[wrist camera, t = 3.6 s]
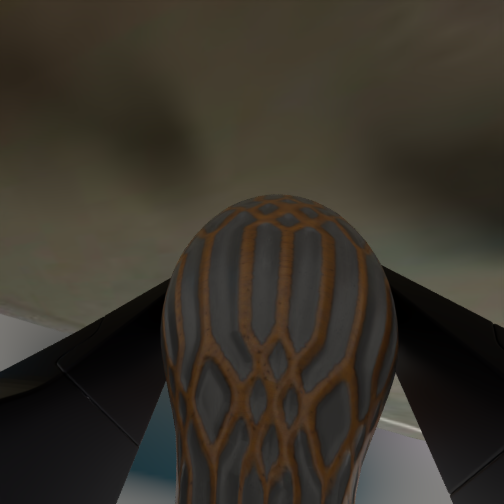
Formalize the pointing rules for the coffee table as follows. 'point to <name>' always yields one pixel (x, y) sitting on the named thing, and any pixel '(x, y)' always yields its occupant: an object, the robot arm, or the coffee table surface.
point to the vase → (276, 355)
